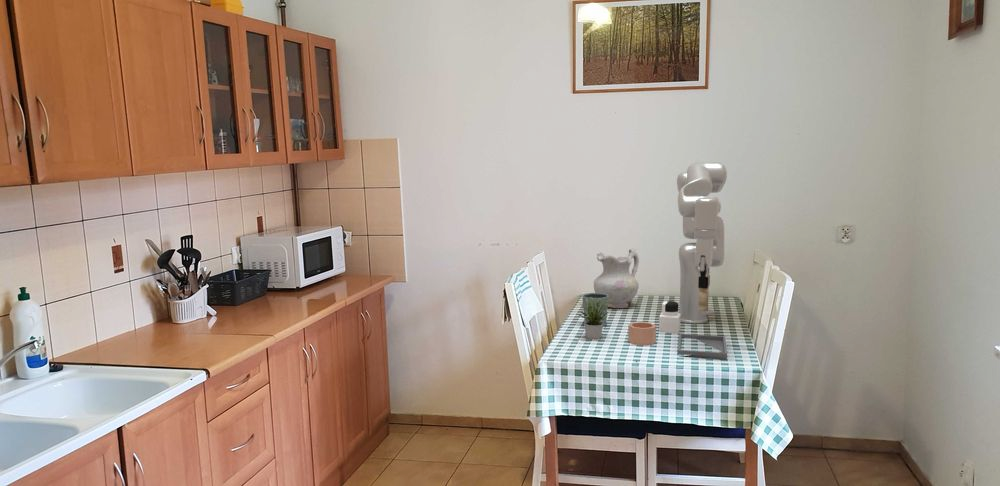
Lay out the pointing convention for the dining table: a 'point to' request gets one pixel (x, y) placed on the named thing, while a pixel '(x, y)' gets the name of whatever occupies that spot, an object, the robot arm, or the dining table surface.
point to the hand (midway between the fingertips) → (703, 286)
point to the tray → (712, 341)
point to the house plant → (594, 319)
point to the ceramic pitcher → (617, 279)
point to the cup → (642, 333)
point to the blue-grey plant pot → (596, 297)
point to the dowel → (704, 297)
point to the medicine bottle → (669, 318)
